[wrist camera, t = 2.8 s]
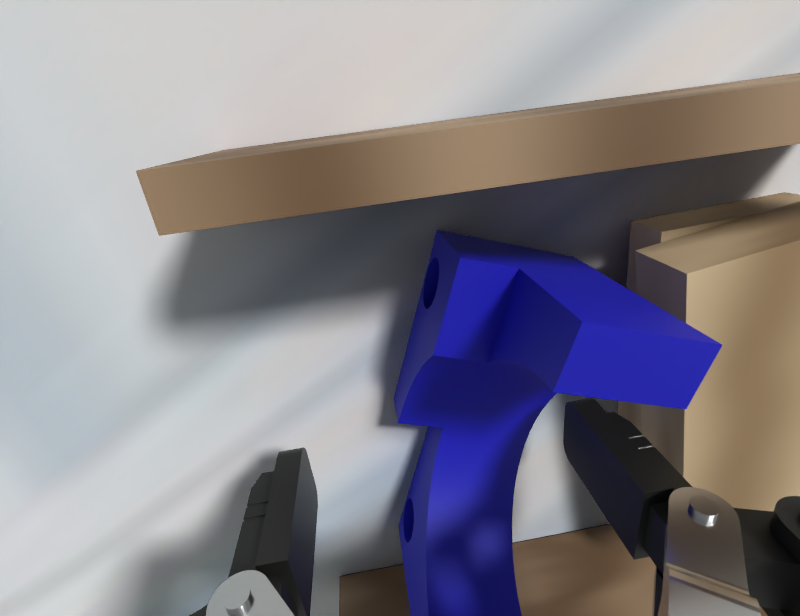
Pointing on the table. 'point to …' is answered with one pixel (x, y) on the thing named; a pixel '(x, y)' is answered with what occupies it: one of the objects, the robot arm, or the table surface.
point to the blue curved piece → (512, 398)
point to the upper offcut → (734, 355)
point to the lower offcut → (681, 225)
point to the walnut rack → (473, 170)
